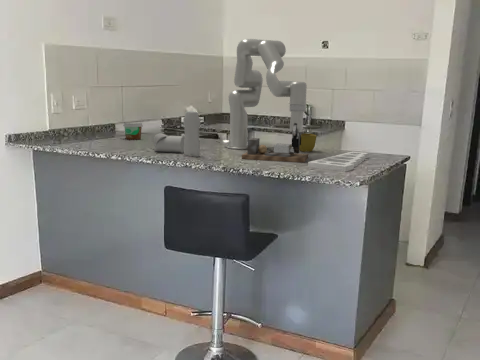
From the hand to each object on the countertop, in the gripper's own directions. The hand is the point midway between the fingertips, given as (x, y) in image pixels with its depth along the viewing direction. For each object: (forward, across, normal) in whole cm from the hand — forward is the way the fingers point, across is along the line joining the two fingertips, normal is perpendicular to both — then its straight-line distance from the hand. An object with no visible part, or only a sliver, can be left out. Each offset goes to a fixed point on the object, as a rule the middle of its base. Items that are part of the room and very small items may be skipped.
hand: (296, 145), depth 257 cm
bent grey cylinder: (+7, -7, -69) cm, 70 cm away
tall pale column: (+7, +5, -51) cm, 52 cm away
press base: (+7, 0, -10) cm, 12 cm away
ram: (+3, 0, -4) cm, 5 cm away
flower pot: (+7, -31, 0) cm, 32 cm away
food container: (+7, -44, -108) cm, 117 cm away
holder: (+8, +1, +25) cm, 26 cm away
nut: (+5, 0, -16) cm, 17 cm away
